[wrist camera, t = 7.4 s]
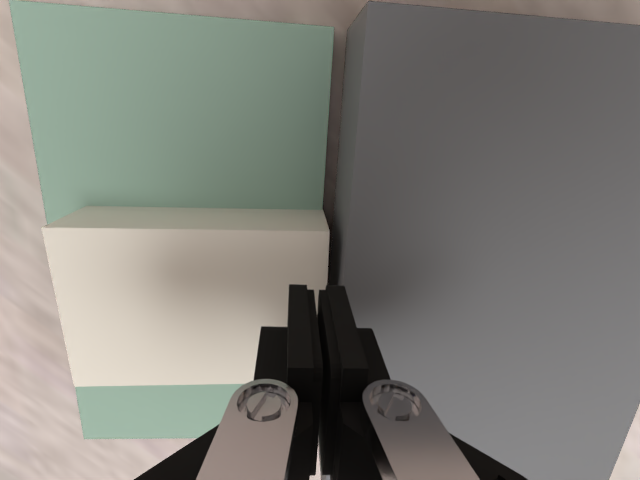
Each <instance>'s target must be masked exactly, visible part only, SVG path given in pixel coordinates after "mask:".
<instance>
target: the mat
mask: <svg viewBox="0 0 640 480" xmlns="http://www.w3.org/2000/svg"><path fill="white" fill-rule="evenodd" d="M9 4H10V10H11V16H12V22H13V28H14V34H15V39H16V45H17V51H18V57H19V63H20V69H21V74H22V80H23V86H24V92H25V98H26V104H27V109H28V115H29V121H30V127H31V133H32V139H33V144H34V150H35V156H36V162H37V168H38V174H39V179H40V185H41V191H42V197H43V203H44V209H45V214H46V220H47V225H48V224H50V223H52V222H54V221H56V220H58V219H60V218H62V217H64V216H66V215H68V214H70V213H73V212H75V211H77V210H79V209H81V208H83V207H85V206H125V207H182V208H239V209H296V210H322V209H323V194H324V179H325V163H326V148H327V133H328V117H329V102H330V86H331V71H332V56H333V40H334V27H330V26H318V25H306V24H294V23H282V22H270V21H258V20H246V19H234V18H222V17H210V16H198V15H186V14H174V13H162V12H150V11H138V10H126V9H114V8H102V7H90V6H78V5H65V4H53V3H41V2H29V1H17V0H9ZM242 385H244V384H205V385H146V386H87V387H75V389H76V395H77V401H78V407H79V413H80V418H81V424H82V430H83V436H84V439H153V438H199V437H200V436H202V435H203V434H205V433H206V432H208V431H209V430H211V429H212V428H214V427H216V426H217V425H219V424H220V422H221V420H222V417H223V415H224V412H225V410H226V408H227V405H228V403H229V401H230V398H231V397H232V395H233V394H234V392H235V391H236V390H237V389H238V388H239V387H241V386H242Z"/></svg>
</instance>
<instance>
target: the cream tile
mask: <svg viewBox="0 0 640 480" xmlns="http://www.w3.org/2000/svg"><path fill="white" fill-rule="evenodd" d="M41 229H42V233H43V238H44V243H45V248H46V253H47V258H48V263H49V268H50V272H51V277H52V282H53V287H54V292H55V297H56V302H57V307H58V311H59V316H60V321H61V326H62V331H63V336H64V341H65V346H66V350H67V355H68V360H69V365H70V370H71V375H72V380H73V385H74V387H87V386H146V385H205V384H246V383H248V382H250V381H253V380H254V373H255V366H256V359H257V351H258V344H259V337H260V330H261V326H273V327H287V322H288V297H289V284H299V285H307V289H310V290H314V295H315V303H316V311H317V310H318V295H319V290H325V289H326V285H327V279H328V257H329V236H330V231H329V227H328V224H327V221H326V218H325V214H324V211H323V210H296V209H239V208H182V207H125V206H85V207H83V208H81V209H79V210H77V211H75V212H73V213H70V214H68V215H66V216H64V217H62V218H60V219H58V220H56V221H54V222H52V223H50V224H48V225H45V226H43V227H41Z"/></svg>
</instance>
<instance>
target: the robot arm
mask: <svg viewBox="0 0 640 480" xmlns="http://www.w3.org/2000/svg"><path fill="white" fill-rule="evenodd" d="M318 435H319V447H320V459H321V471H322V475H330V480H528V479H527V478H525V477H524V476H522V475H521V474H519V473H517V472H515V471H514V470H512V469H510V468H509V467H507V466H505V465H503V464H502V463H500V462H498V461H497V460H495V459H493V458H491V457H490V456H488V455H486V454H485V453H483V452H481V451H479V450H478V449H476V448H474V447H473V446H471V445H469V444H467V443H466V442H464V441H462V440H461V439H459V438H457V437H455V436H454V435H452V434H450V433H449V432H448V431H447V429H446V428H445V426H444V425H443V423H442V422H441V420H440V419H439V417H438V416H437V414H436V413H435V411H434V410H433V408H432V407H431V405H430V404H429V402H428V401H427V399H426V398H425V397H424V396H423V395H422V393H421V392H420V391H418V390H417V389H416V388H414V387H413V386H411V385H409V384H406V383H404V382H401V381H396V380H391V379H390V376H389V373H388V370H387V368H386V365H385V362H384V359H383V357H382V354H381V351H380V348H379V346H378V343H377V340H376V337H375V335H374V332H373V330H372V329H371V328H357V327H356V323H355V320H354V316H353V313H352V310H351V306H350V303H349V299H348V296H347V293H346V289H345V286H338V285H326V289H325V290H319V295H318V310H317V311H316V303H315V295H314V290H310V289H307V285H299V284H289V297H288V322H287V327H273V326H261V330H260V337H259V344H258V351H257V359H256V366H255V373H254V380H253V381H250V382H248V383H246V384H244V385H242V386H241V387H239V388H238V389H237V390H236V391H235V392H234V394H233V395H232V397H231V398H230V401H229V403H228V405H227V408H226V410H225V412H224V415H223V417H222V420H221V422H220V424H219V425H217V426H216V427H214V428H212V429H211V430H209V431H208V432H206V433H205V434H203V435H202V436H200V437H199V438H197V439H196V440H194V441H192V442H191V443H189V444H188V445H186V446H185V447H183V448H182V449H180V450H179V451H177V452H176V453H174V454H172V455H171V456H169V457H168V458H166V459H165V460H163V461H162V462H160V463H159V464H157V465H156V466H154V467H152V468H151V469H149V470H148V471H146V472H145V473H143V474H142V475H140V476H139V477H137V478H136V479H134V480H309V476H310V475H315V473H316V461H317V448H318Z"/></svg>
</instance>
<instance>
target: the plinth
mask: <svg viewBox="0 0 640 480" xmlns="http://www.w3.org/2000/svg"><path fill="white" fill-rule="evenodd" d="M328 285H338V286H345V289H346V293H347V296H348V299H349V303H350V306H351V310H352V313H353V316H354V320H355V323H356V327H357V328H371V329H372V330H373V332H374V335H375V337H376V340H377V343H378V346H379V348H380V351H381V354H382V357H383V359H384V362H385V365H386V368H387V370H388V373H389V376H390V379H391V380H396V381H401V382H404V383H406V384H409V385H411V386H413V387H414V388H416V389H417V390H418V391H420V392H421V393H422V395H423V396H424V397H425V398H426V399H427V401H428V402H429V404H430V405H431V407H432V408H433V410H434V411H435V413H436V414H437V416H438V417H439V419H440V420H441V422H442V423H443V425H444V426H445V428H446V429H447V431H448V432H449V433H450V434H452V435H454V436H455V437H457V438H459V439H461V440H462V441H464V442H466V443H467V444H469V445H471V446H473V447H474V448H476V449H478V450H479V451H481V452H483V453H485V454H486V455H488V456H490V457H491V458H493V459H495V460H497V461H498V462H500V463H502V464H503V465H505V466H507V467H509V468H510V469H512V470H514V471H515V472H517V473H519V474H521V475H522V476H524V477H525V478H527V479H528V480H609V478H610V476H611V473H612V471H613V469H614V466H615V464H616V461H617V459H618V456H619V454H620V451H621V449H622V446H623V444H624V441H625V439H626V436H627V434H628V431H629V429H630V426H631V424H632V421H633V419H634V416H635V414H636V411H637V409H638V406H639V404H640V25H632V24H621V23H610V22H598V21H587V20H576V19H565V18H554V17H543V16H531V15H520V14H509V13H498V12H487V11H476V10H464V9H453V8H442V7H431V6H420V5H409V4H397V3H386V2H375V1H368V2H367V4H366V5H365V6H364V8H363V9H362V10H361V12H360V13H359V15H358V16H357V17H356V19H355V20H354V22H353V23H352V24H351V26H350V27H349V28H348V30H347V40H346V53H345V67H344V80H343V93H342V107H341V120H340V133H339V147H338V160H337V174H336V187H335V200H334V214H333V227H332V241H331V254H330V267H329V281H328ZM318 446H319V435H318ZM319 459H320V447H319ZM320 471H321V459H320ZM321 480H330V475H322V471H321Z"/></svg>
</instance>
